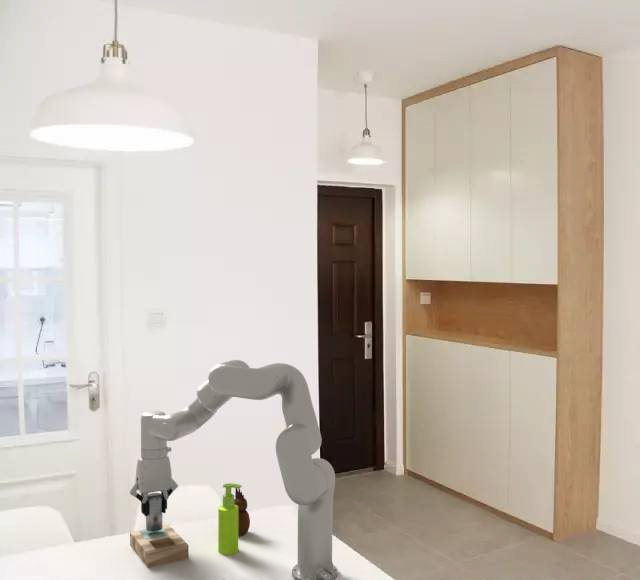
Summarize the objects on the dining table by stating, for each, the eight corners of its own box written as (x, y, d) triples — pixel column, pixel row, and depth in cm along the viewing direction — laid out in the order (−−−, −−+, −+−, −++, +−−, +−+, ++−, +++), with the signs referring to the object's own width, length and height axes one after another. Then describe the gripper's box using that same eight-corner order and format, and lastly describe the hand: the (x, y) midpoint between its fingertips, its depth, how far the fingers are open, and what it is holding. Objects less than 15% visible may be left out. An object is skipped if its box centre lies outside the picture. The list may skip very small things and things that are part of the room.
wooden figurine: (227, 531, 220) (227, 484, 219) (245, 528, 222) (245, 482, 222) (234, 539, 214) (234, 491, 213) (252, 536, 216) (252, 488, 216)
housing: (188, 558, 199) (188, 544, 199) (147, 567, 193) (147, 553, 193) (168, 537, 214) (168, 524, 214) (130, 545, 208) (129, 531, 208)
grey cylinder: (164, 529, 206) (164, 496, 206) (148, 532, 204) (148, 499, 204) (159, 524, 211) (159, 491, 210) (144, 527, 208) (143, 494, 208)
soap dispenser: (238, 556, 201) (238, 488, 200) (215, 554, 202) (215, 486, 202) (244, 548, 207) (244, 482, 206) (222, 546, 208) (222, 480, 207)
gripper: (177, 446, 214) (177, 504, 215) (122, 454, 206) (122, 514, 206) (185, 452, 208) (185, 512, 208) (128, 460, 199) (129, 522, 200)
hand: (154, 512), depth 207 cm, fingers closed on grey cylinder, 4 cm apart
